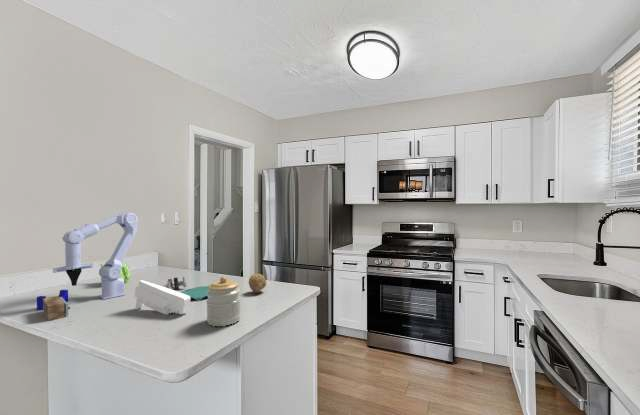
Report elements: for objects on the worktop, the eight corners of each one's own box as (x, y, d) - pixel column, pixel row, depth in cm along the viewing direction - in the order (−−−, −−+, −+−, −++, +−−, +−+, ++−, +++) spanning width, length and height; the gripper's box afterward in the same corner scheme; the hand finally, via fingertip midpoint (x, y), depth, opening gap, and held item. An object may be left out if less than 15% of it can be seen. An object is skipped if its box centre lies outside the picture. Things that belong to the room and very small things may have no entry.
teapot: (96, 288, 170) (95, 266, 170) (99, 283, 182) (99, 262, 182) (129, 284, 178) (129, 263, 178) (131, 279, 190) (130, 259, 190)
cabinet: (58, 309, 136) (57, 295, 136) (64, 317, 126) (64, 303, 126) (43, 312, 133) (43, 298, 132) (48, 321, 122) (48, 306, 122)
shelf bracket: (142, 307, 138) (146, 278, 137) (188, 325, 130) (193, 295, 129) (130, 311, 133) (134, 282, 132) (178, 331, 124) (182, 299, 123)
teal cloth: (170, 298, 151) (170, 294, 151) (216, 284, 177) (216, 280, 177) (197, 304, 142) (197, 299, 141) (241, 288, 168) (241, 283, 168)
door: (64, 306, 138) (63, 296, 138) (70, 314, 128) (70, 303, 128) (59, 307, 137) (59, 297, 137) (65, 315, 126) (65, 304, 126)
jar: (221, 330, 110) (221, 282, 110) (199, 323, 117) (198, 278, 117) (247, 318, 121) (247, 275, 121) (226, 312, 128) (225, 271, 128)
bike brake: (190, 287, 167) (167, 288, 176) (188, 275, 167) (165, 277, 176) (168, 294, 155) (144, 295, 164) (166, 281, 155) (142, 283, 164)
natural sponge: (258, 289, 163) (258, 271, 163) (270, 291, 158) (269, 272, 158) (245, 293, 156) (245, 274, 156) (257, 296, 151) (256, 276, 151)
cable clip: (60, 301, 148) (60, 289, 148) (68, 301, 147) (68, 289, 147) (34, 310, 136) (33, 296, 136) (42, 310, 135) (42, 297, 135)
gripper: (54, 259, 133) (55, 290, 133) (94, 255, 144) (95, 283, 144) (51, 258, 138) (52, 287, 138) (90, 253, 149) (91, 281, 149)
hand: (74, 285), depth 141 cm, fingers closed
